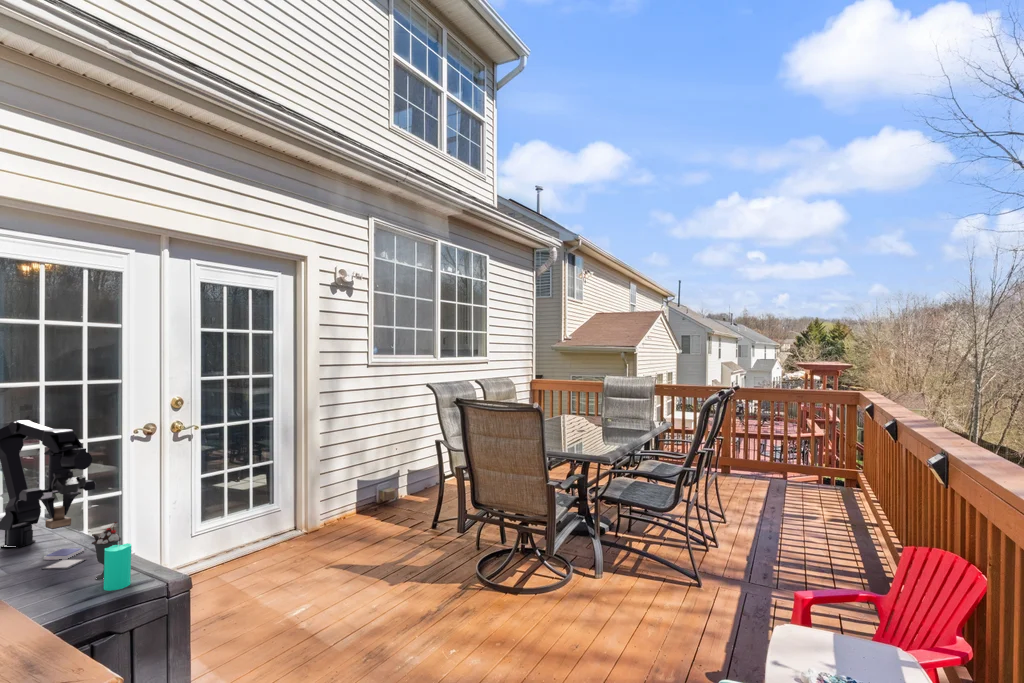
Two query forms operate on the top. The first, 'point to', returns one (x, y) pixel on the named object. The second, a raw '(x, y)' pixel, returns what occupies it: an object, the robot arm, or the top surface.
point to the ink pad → (63, 554)
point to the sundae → (105, 545)
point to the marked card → (64, 564)
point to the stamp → (58, 519)
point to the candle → (117, 567)
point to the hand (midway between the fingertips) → (58, 516)
